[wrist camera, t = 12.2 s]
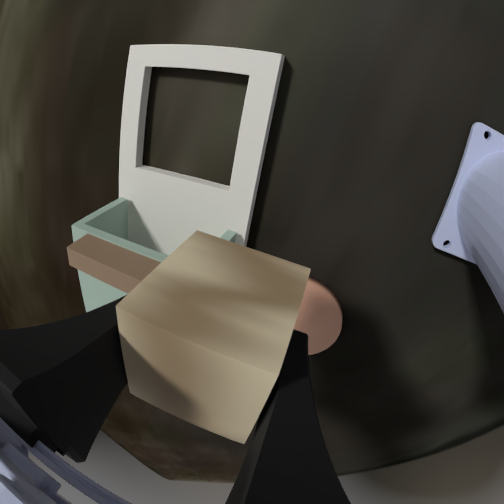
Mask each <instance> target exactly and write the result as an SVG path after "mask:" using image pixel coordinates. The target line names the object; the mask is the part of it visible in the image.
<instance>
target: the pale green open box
mask: <svg viewBox="0 0 504 504" xmlns="http://www.w3.org/2000/svg"><path fill="white" fill-rule="evenodd" d="M72 234H73V241H74V243H72V244H71V245H69V246H68V247H67V252H68V258H69V263H70V266H72V267H74V268H76V269H78V273H79V279H80V284H81V289H82V294H83V299H84V304H85V308H86V312H89V311H91V310H94V309H96V308H98V307H101V306H103V305H106V304H108V303H110V302H113V301H115V300H117V299H119V298H121V297H123V296H125V295H127V294H128V293H130V292H131V291H132V290H133V289H134V288H135V287H136V286H137V285H138V284H139V283H140V282H141V281H142V280H143V279H144V278H145V277H146V276H147V275H148V274H150V273H151V272H152V271H153V270H154V269H155V268H156V267H157V266H158V265H159V264H160V263H161V262H162V261H164V260H165V259H166V258H167V257H168V255H166V254H163V253H160V252H158V251H155V250H152V249H149V248H147V247H144V246H141V245H139V244H136V243H133V242H131V241H128V199H126V198H123V197H121V198H119V199H117V200H115V201H113V202H111V203H110V204H108V205H106V206H104V207H102V208H100V209H99V210H97V211H95V212H93V213H92V214H90V215H88V216H86V217H85V218H83V219H81V220H79V221H78V222H76V223H74V224H73V225H72ZM236 234H237V232H235V231H231V230H227V231H226V232H225V233H224V234H223V235H222V236H221V237H220V238H222V239H225V240H228V241H231V242H234V243H235V240H236Z"/></svg>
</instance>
